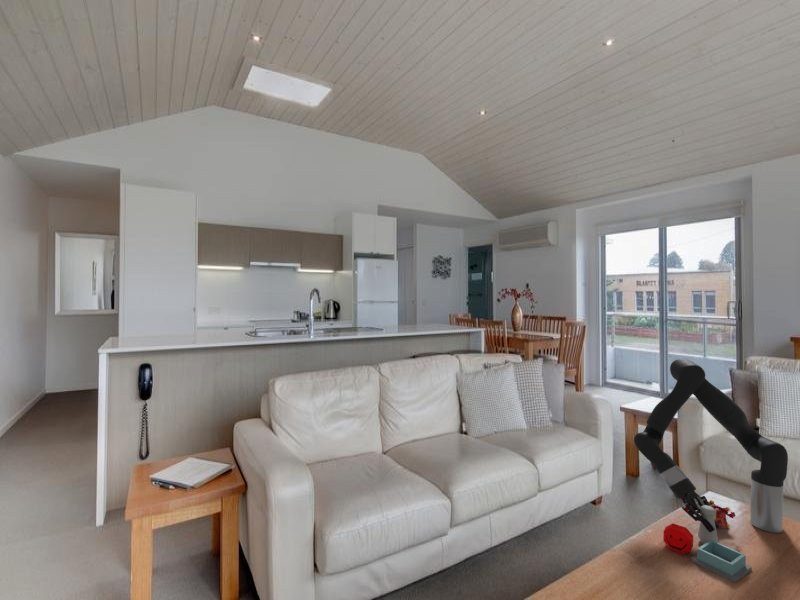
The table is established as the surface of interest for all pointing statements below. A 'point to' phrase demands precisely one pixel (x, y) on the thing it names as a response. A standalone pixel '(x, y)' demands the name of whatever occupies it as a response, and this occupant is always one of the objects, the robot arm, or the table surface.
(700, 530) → the salt shaker
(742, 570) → the stand
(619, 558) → the table surface
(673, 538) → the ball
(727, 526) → the book monster
